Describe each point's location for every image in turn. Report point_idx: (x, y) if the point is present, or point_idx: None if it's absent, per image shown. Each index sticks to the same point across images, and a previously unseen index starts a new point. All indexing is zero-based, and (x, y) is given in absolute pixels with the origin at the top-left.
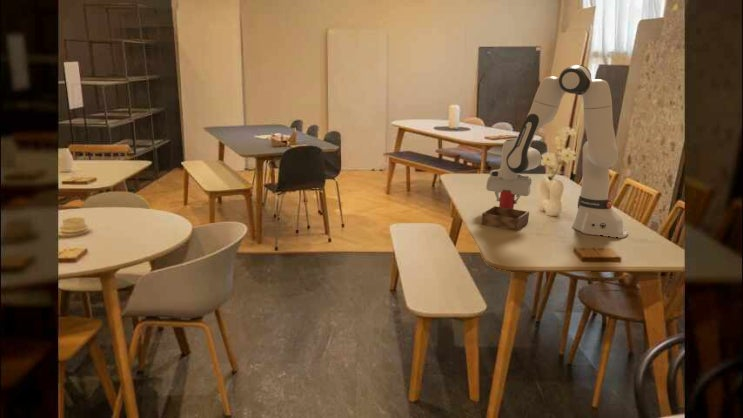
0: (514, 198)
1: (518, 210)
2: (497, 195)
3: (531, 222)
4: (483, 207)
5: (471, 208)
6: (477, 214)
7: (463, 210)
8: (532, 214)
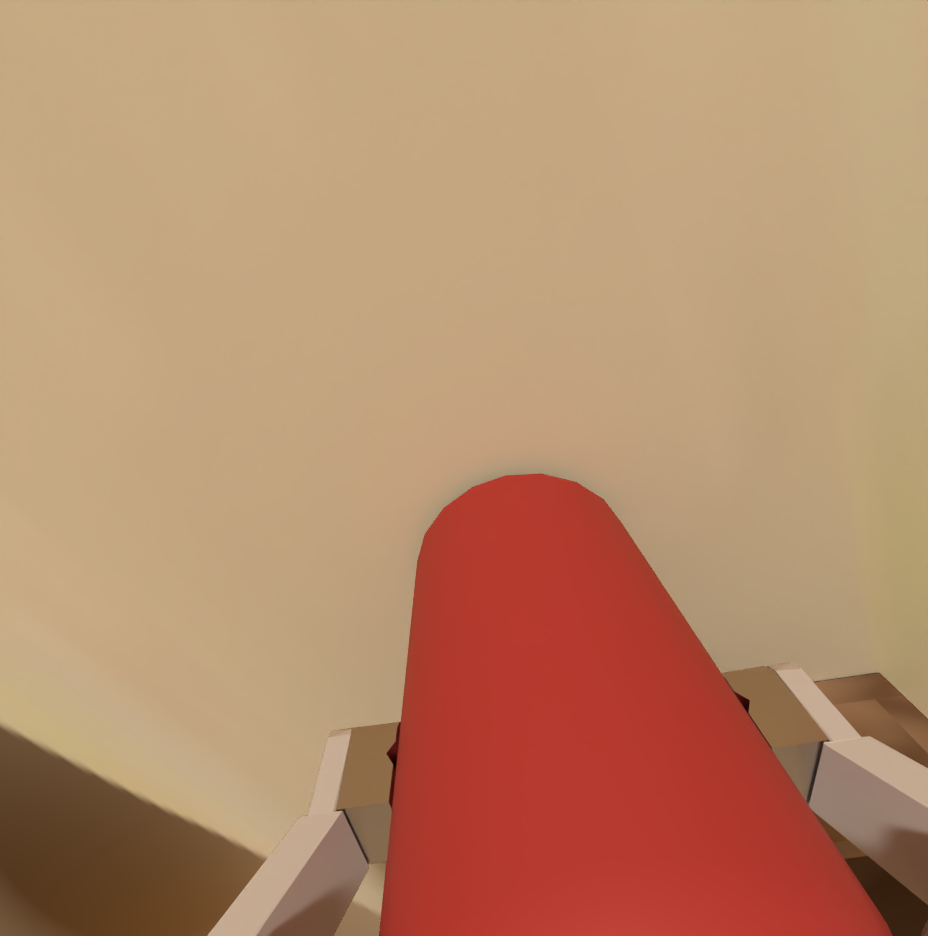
0: (782, 768)
1: (858, 852)
2: (320, 926)
3: (917, 640)
4: (47, 472)
5: (26, 639)
6: (293, 772)
7: (73, 758)
8: (903, 233)
